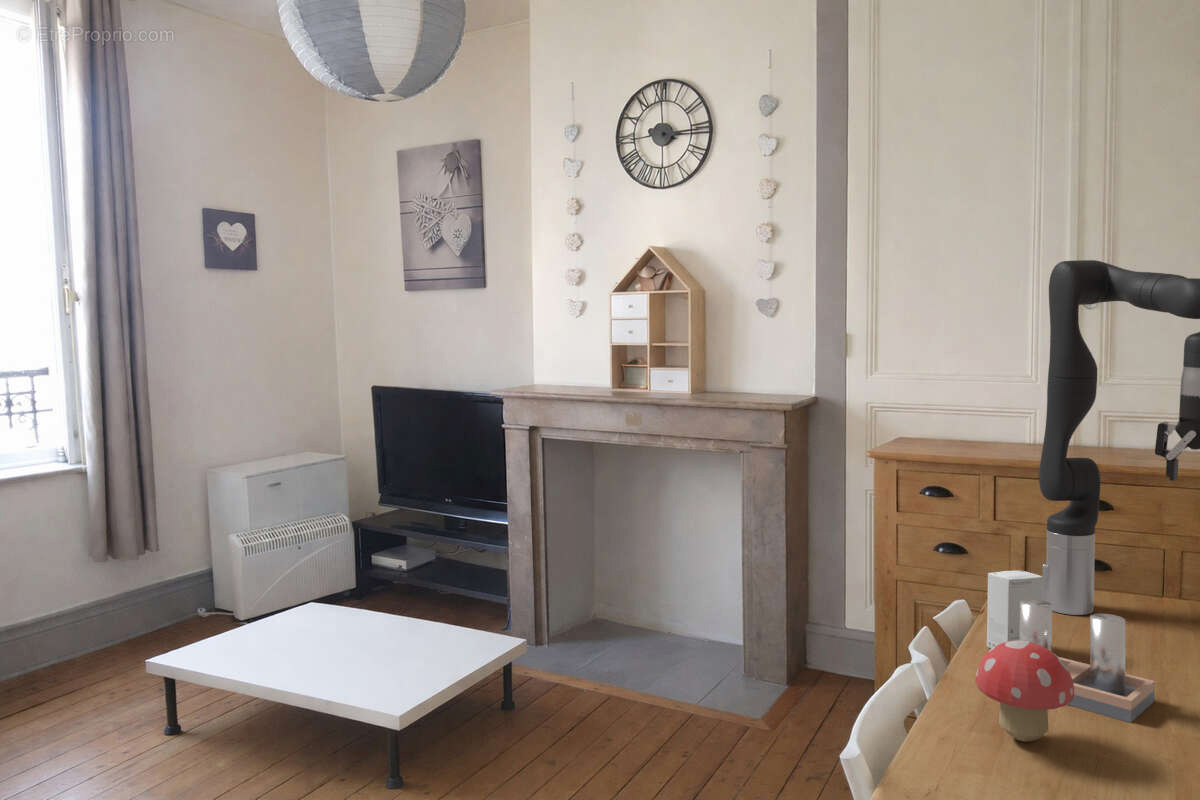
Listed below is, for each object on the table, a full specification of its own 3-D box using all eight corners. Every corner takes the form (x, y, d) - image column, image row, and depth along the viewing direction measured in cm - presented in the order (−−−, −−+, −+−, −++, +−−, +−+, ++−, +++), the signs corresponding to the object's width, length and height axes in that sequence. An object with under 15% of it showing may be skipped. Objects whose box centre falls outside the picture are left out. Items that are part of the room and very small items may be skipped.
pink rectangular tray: (990, 682, 153) (990, 663, 153) (1018, 665, 160) (1018, 646, 160) (1130, 722, 136) (1131, 701, 136) (1154, 701, 143) (1154, 681, 143)
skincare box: (1007, 657, 164) (1008, 580, 163) (984, 646, 170) (985, 572, 168) (1043, 651, 166) (1044, 575, 165) (1019, 641, 172) (1020, 567, 171)
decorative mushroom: (989, 712, 141) (990, 622, 140) (1082, 735, 132) (1084, 639, 131) (963, 744, 131) (964, 647, 129) (1062, 771, 122) (1064, 667, 121)
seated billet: (1014, 670, 153) (1015, 603, 152) (1026, 663, 156) (1027, 597, 155) (1044, 679, 149) (1045, 610, 148) (1055, 670, 152) (1057, 603, 151)
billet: (1085, 689, 144) (1084, 618, 143) (1097, 681, 147) (1097, 611, 146) (1117, 698, 140) (1117, 625, 139) (1130, 689, 143) (1130, 618, 143)
